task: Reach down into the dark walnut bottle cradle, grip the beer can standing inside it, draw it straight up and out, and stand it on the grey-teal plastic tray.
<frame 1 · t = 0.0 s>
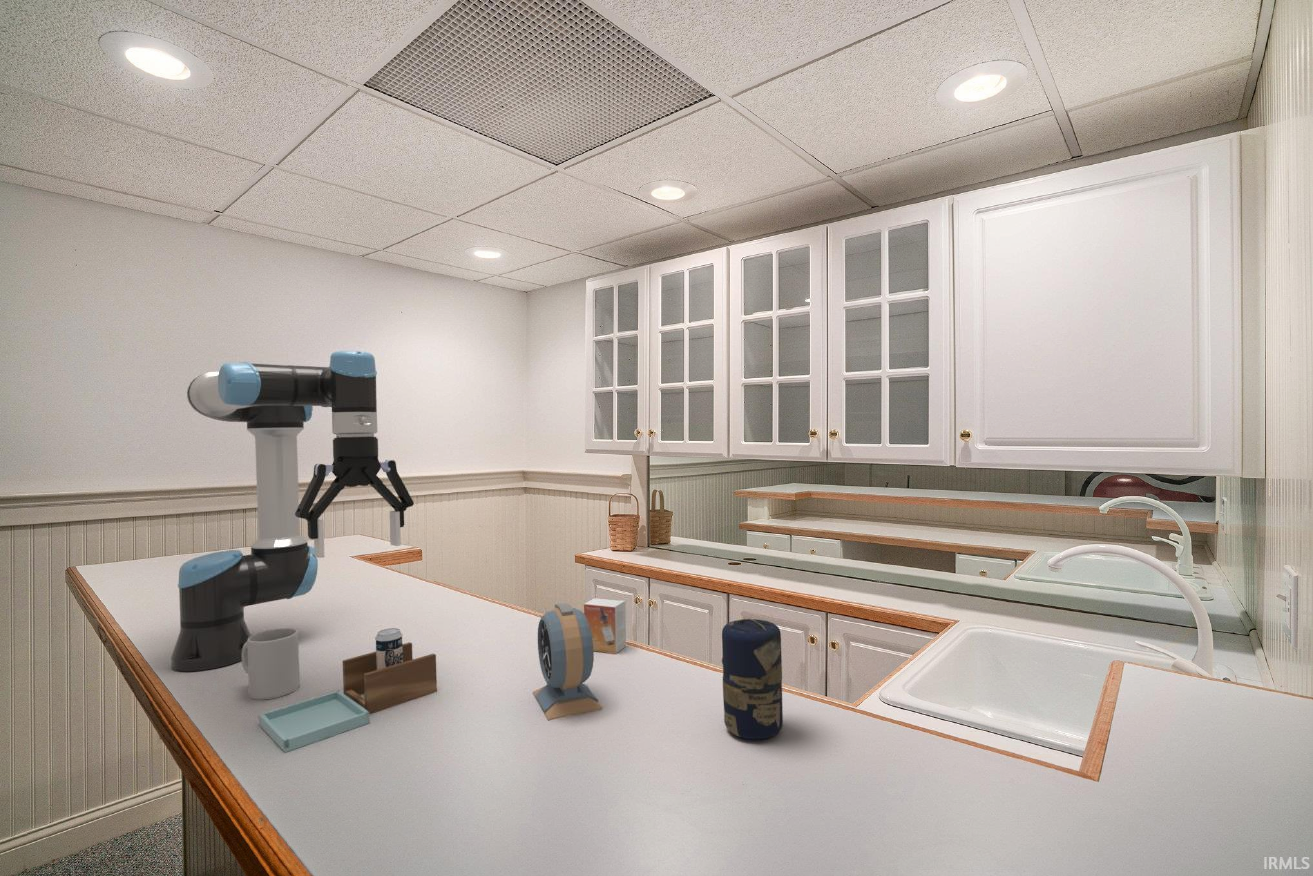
hand: (359, 550, 116), 28 cm above the counter, fingers open, 13 cm apart
cradle: (390, 694, 119), on the counter
mug: (268, 690, 122), on the counter
alarm clock: (566, 702, 114), on the counter
small box: (605, 649, 141), on the counter
canister: (753, 731, 101), on the counter
tray: (314, 723, 107), on the counter
beer can: (390, 695, 119), resting in cradle
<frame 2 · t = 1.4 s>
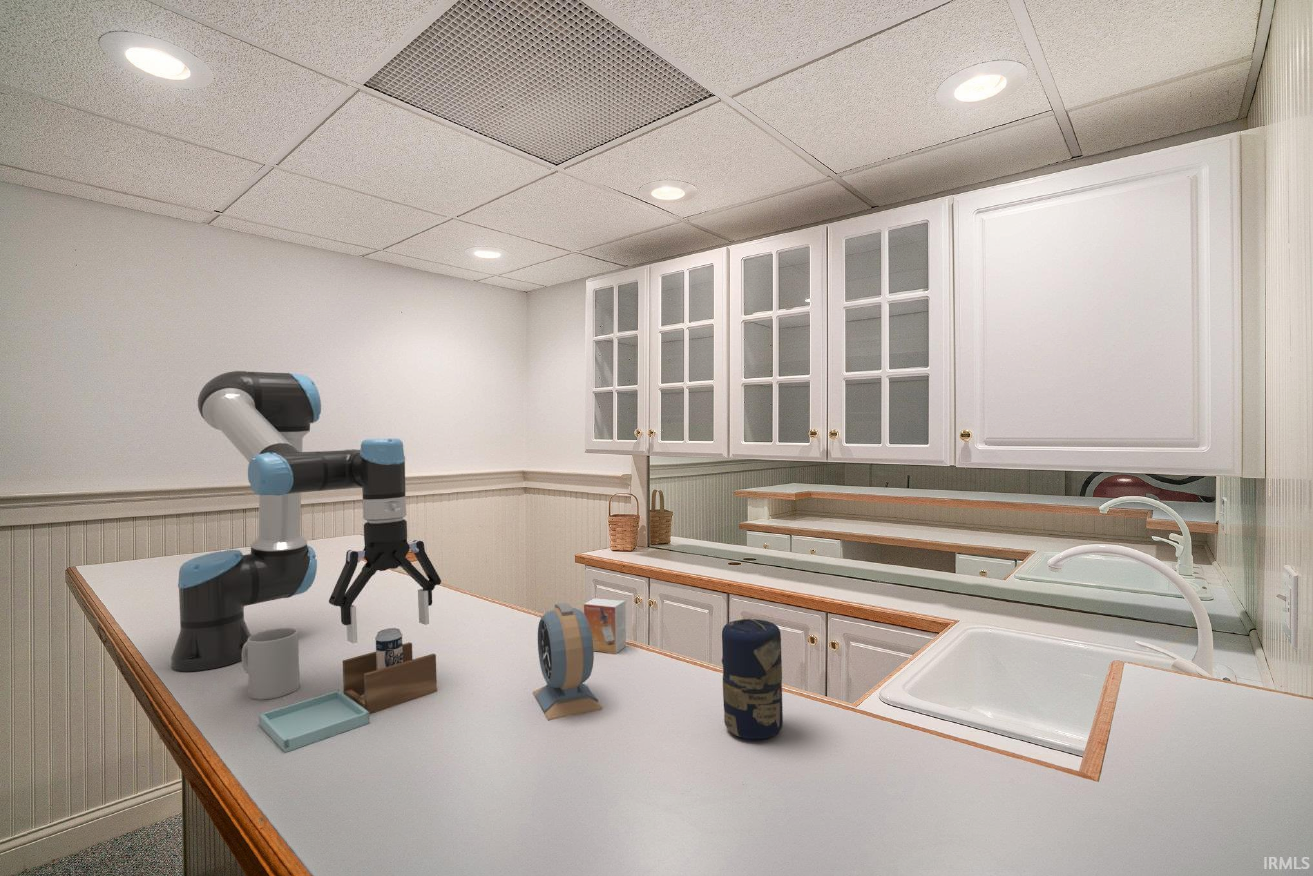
hand: (389, 632, 118), 12 cm above the counter, fingers open, 13 cm apart
nothing on the counter moved.
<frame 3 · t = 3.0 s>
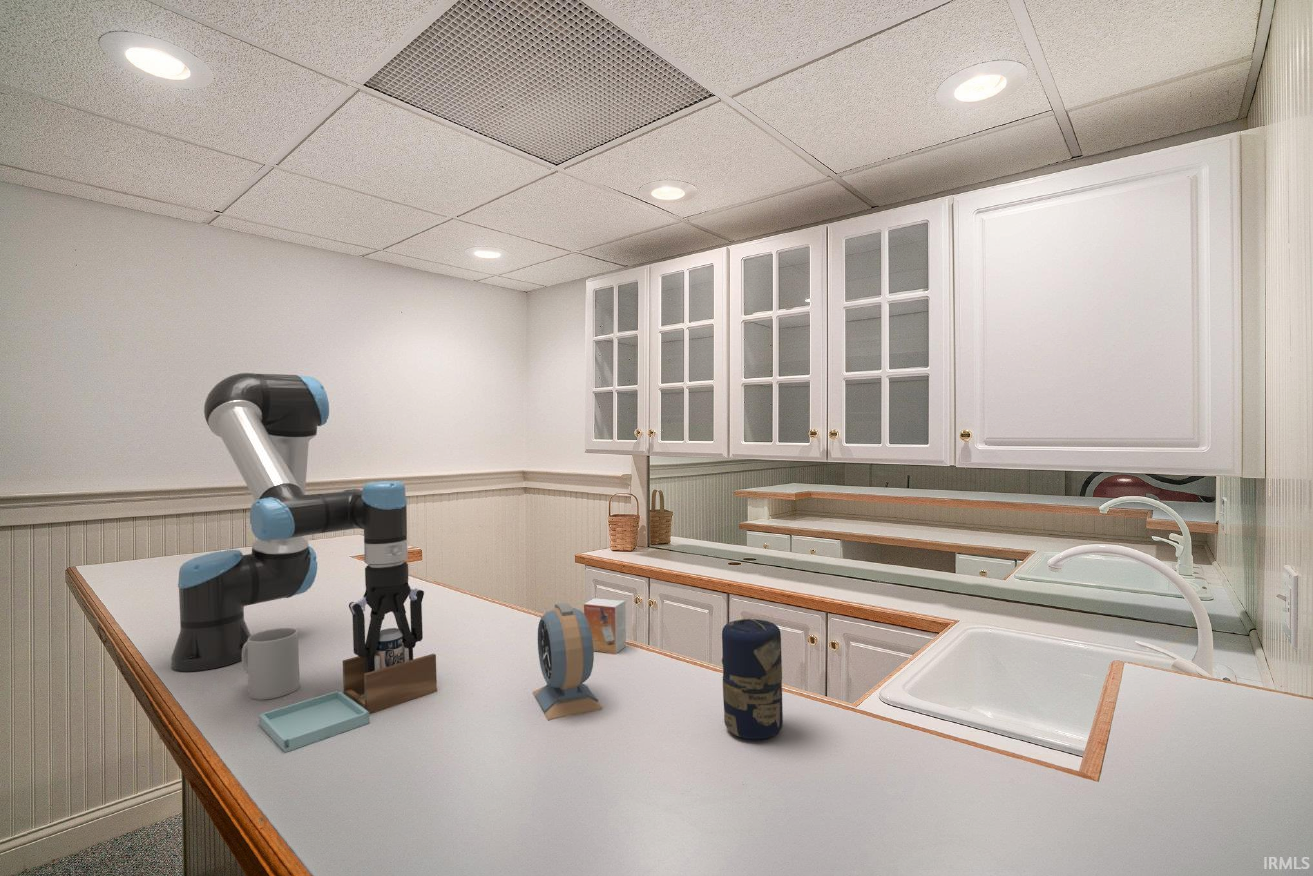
hand: (390, 685, 119), 2 cm above the counter, fingers closed on beer can, 5 cm apart
beer can: (390, 695, 119), resting in cradle, touching gripper
everything else where it was.
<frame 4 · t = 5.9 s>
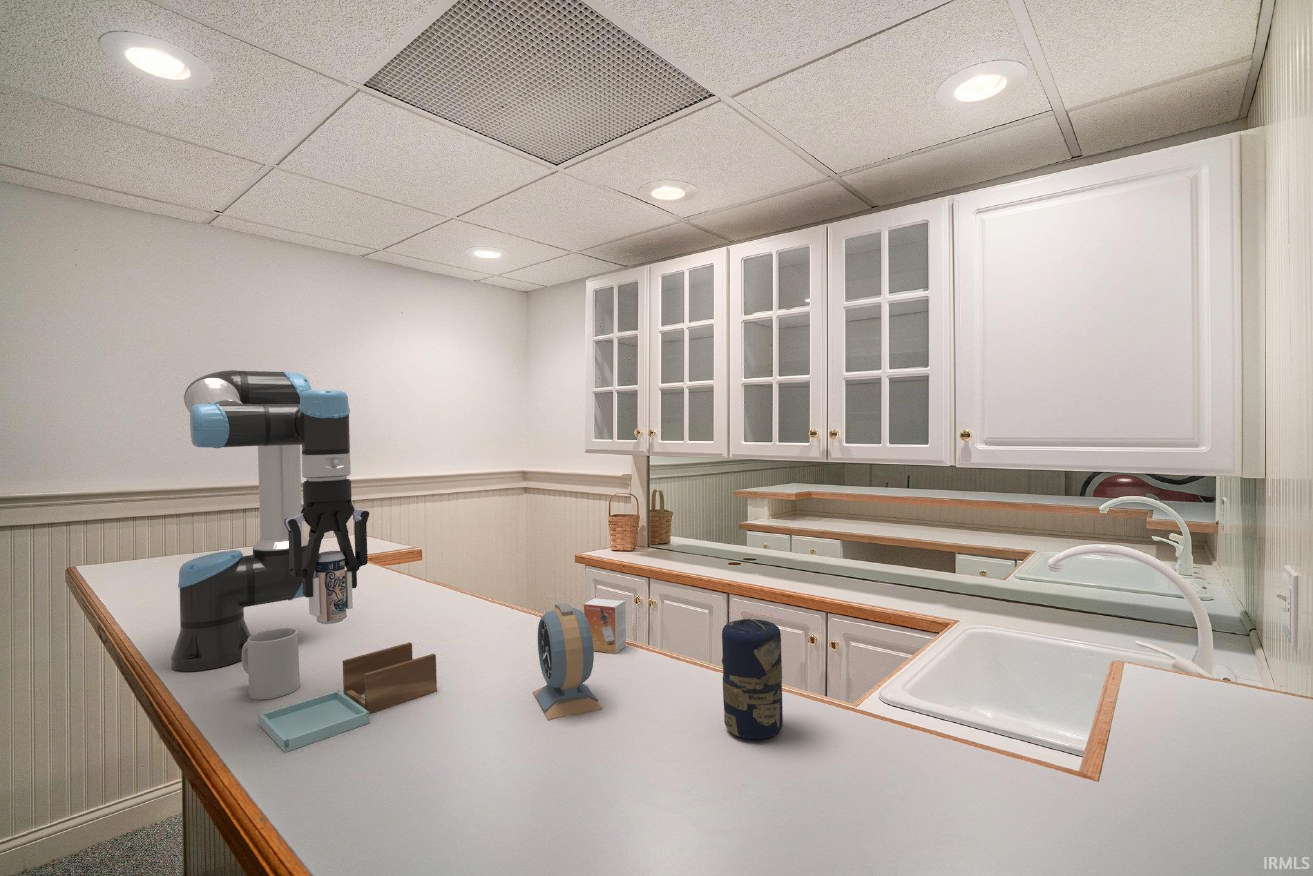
hand: (331, 610, 110), 19 cm above the counter, fingers closed on beer can, 5 cm apart
beer can: (331, 622, 110), point 17 cm above the counter, touching gripper
everything else where it was.
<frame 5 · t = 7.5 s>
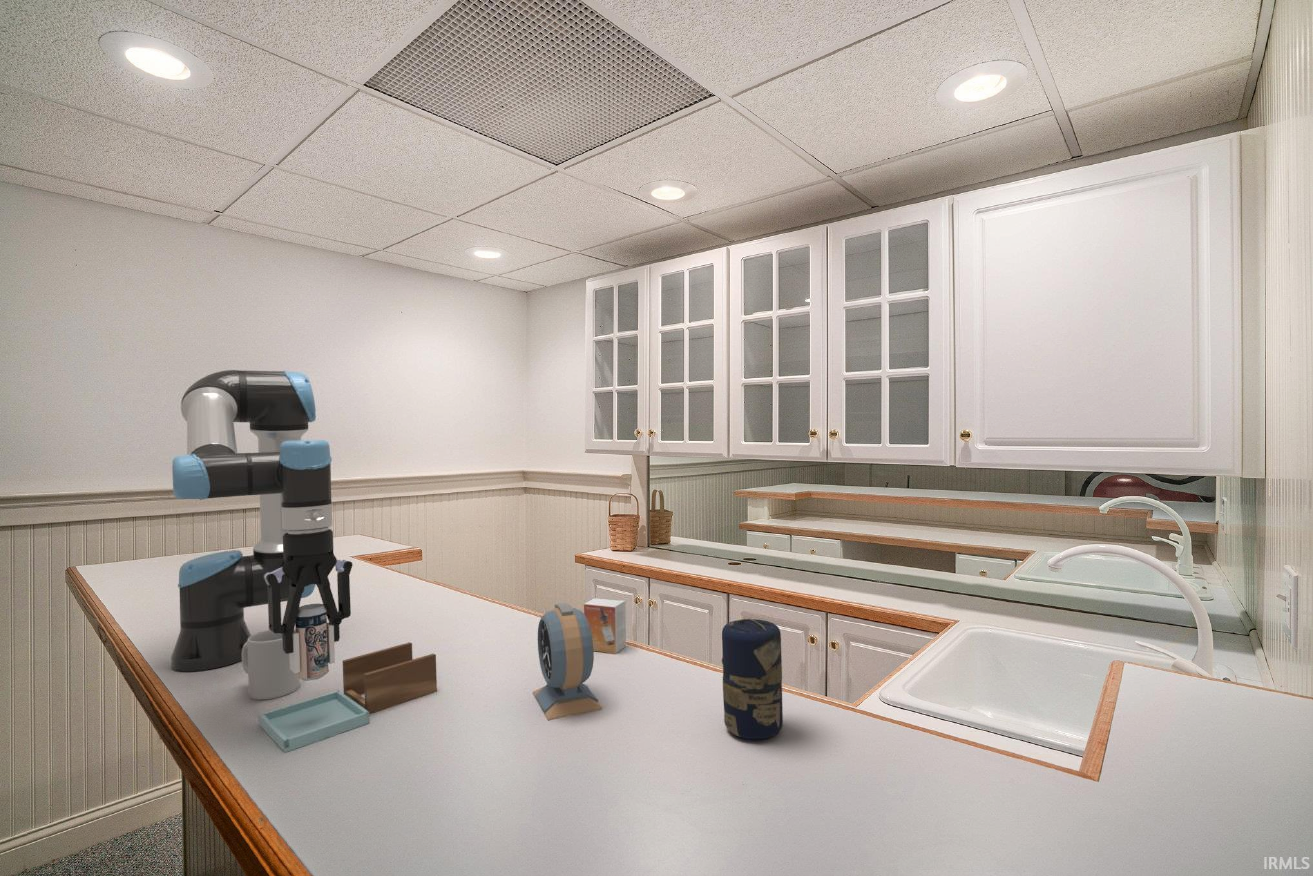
hand: (312, 665, 107), 10 cm above the counter, fingers closed on beer can, 5 cm apart
beer can: (313, 677, 107), point 8 cm above the counter, touching gripper
everything else where it was.
when the fingers open (4 cm above the counter, at t = 8.7 s): beer can drops 1 cm, resting on tray.
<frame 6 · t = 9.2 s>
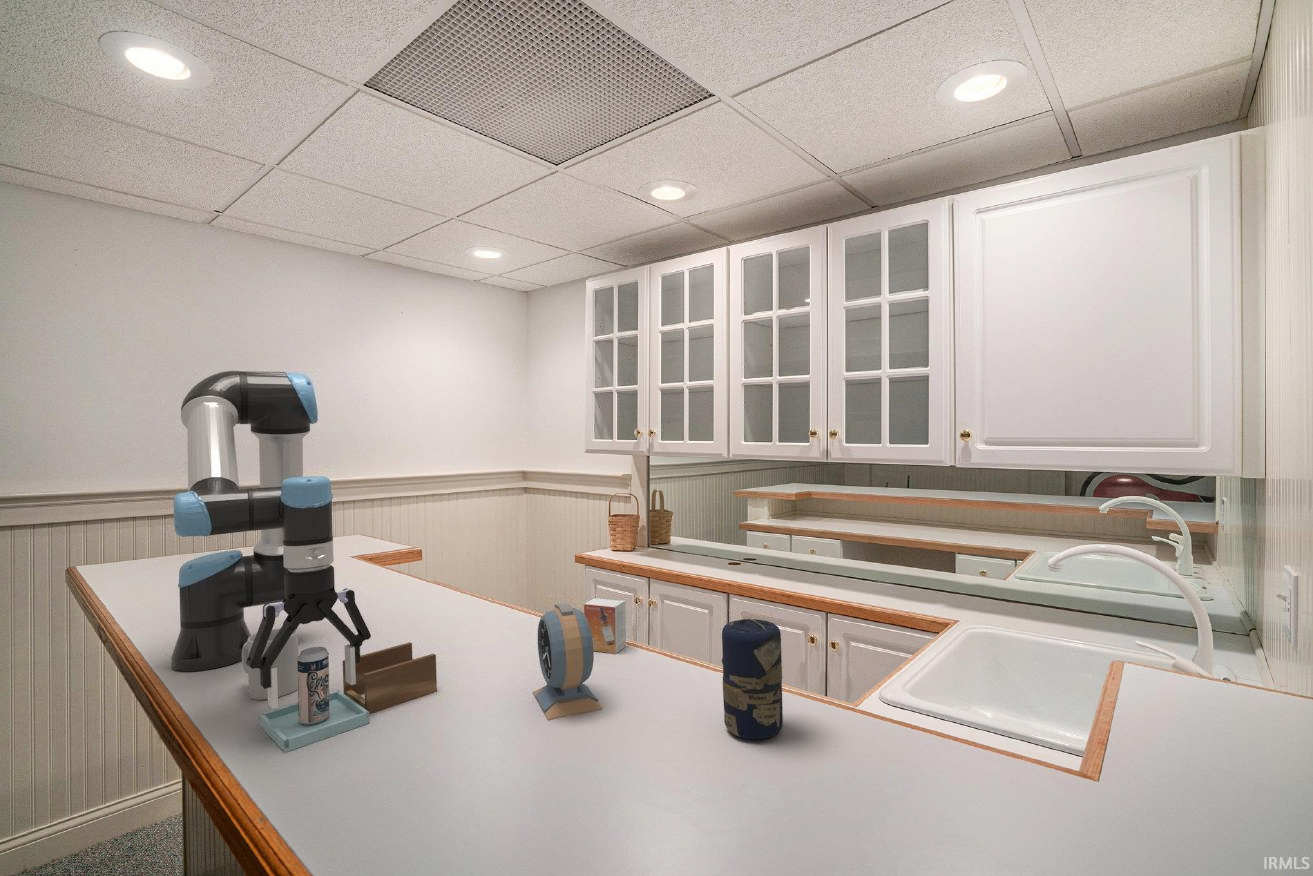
hand: (313, 693, 107), 5 cm above the counter, fingers open, 11 cm apart
beer can: (314, 721, 107), resting on tray
everything else where it was.
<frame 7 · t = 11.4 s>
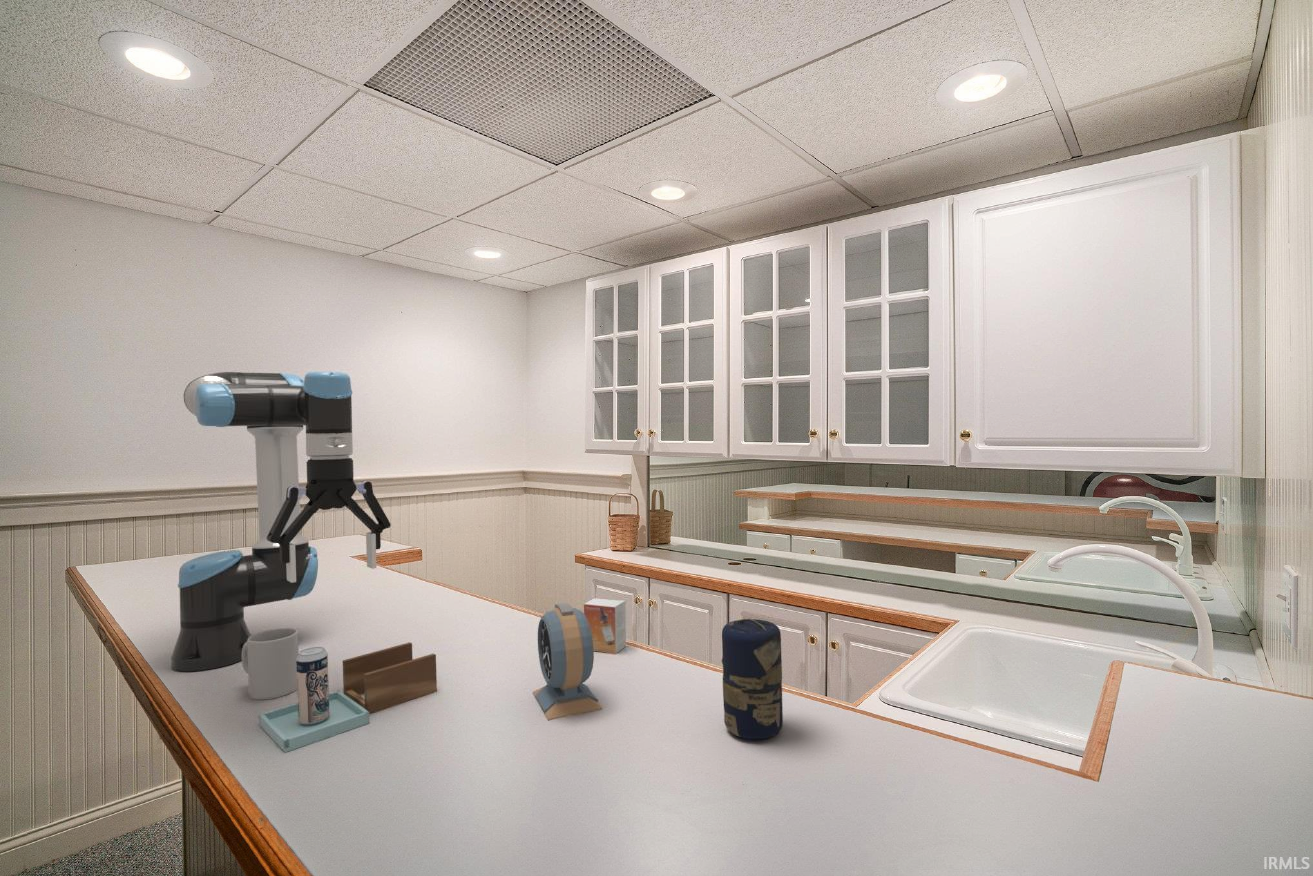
hand: (333, 574, 114), 24 cm above the counter, fingers open, 13 cm apart
nothing on the counter moved.
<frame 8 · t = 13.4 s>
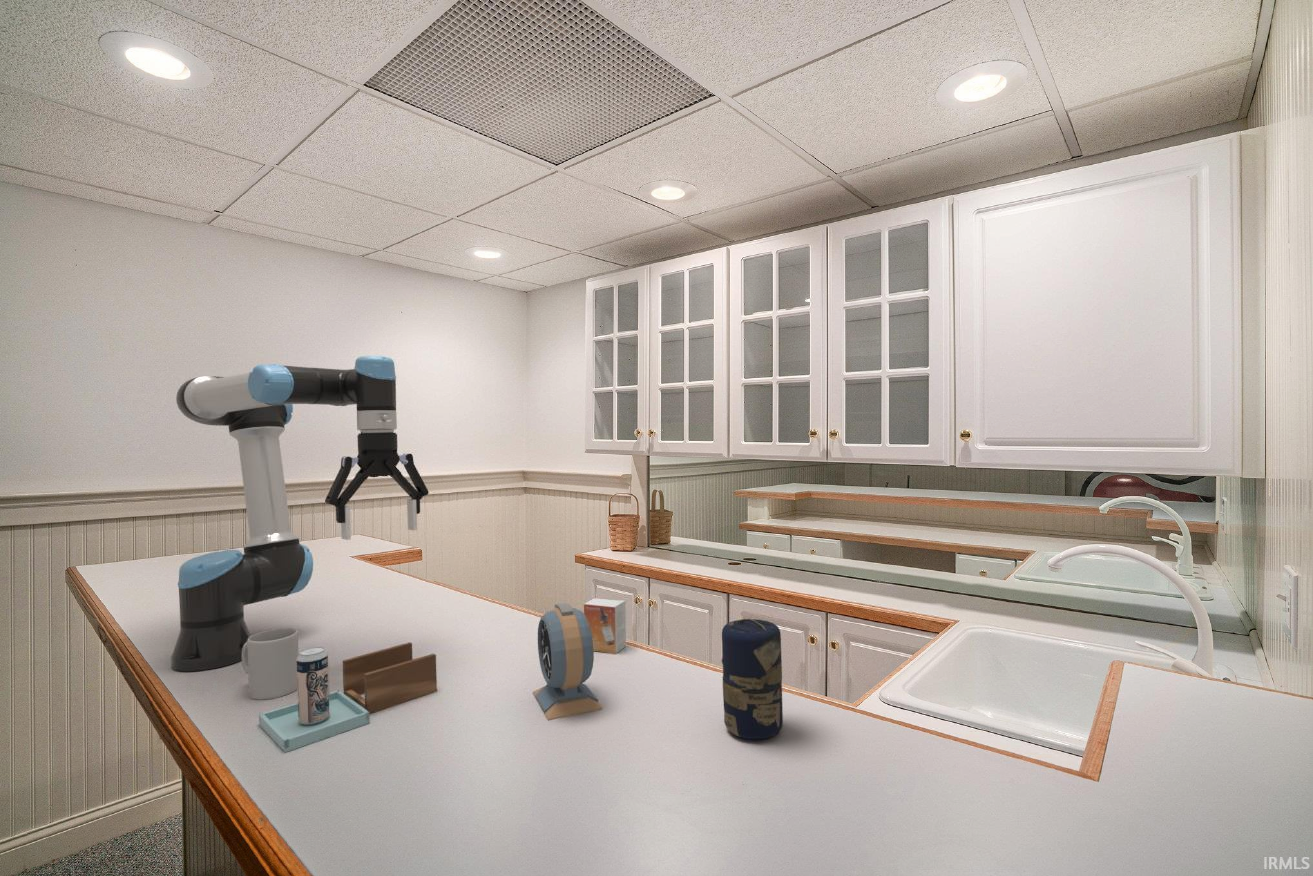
hand: (380, 534, 130), 29 cm above the counter, fingers open, 13 cm apart
nothing on the counter moved.
at the end: beer can inside the target area on the tray (0.0 cm from its centre), point 0.4 cm above the tray's base; beer can tilted 0°; the gripper is holding nothing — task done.
